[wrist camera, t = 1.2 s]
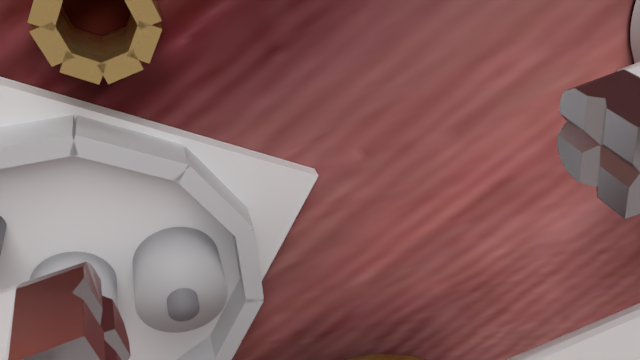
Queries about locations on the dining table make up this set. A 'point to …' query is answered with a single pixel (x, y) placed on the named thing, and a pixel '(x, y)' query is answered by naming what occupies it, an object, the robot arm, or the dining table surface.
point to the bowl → (385, 357)
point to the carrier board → (143, 218)
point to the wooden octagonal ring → (96, 41)
